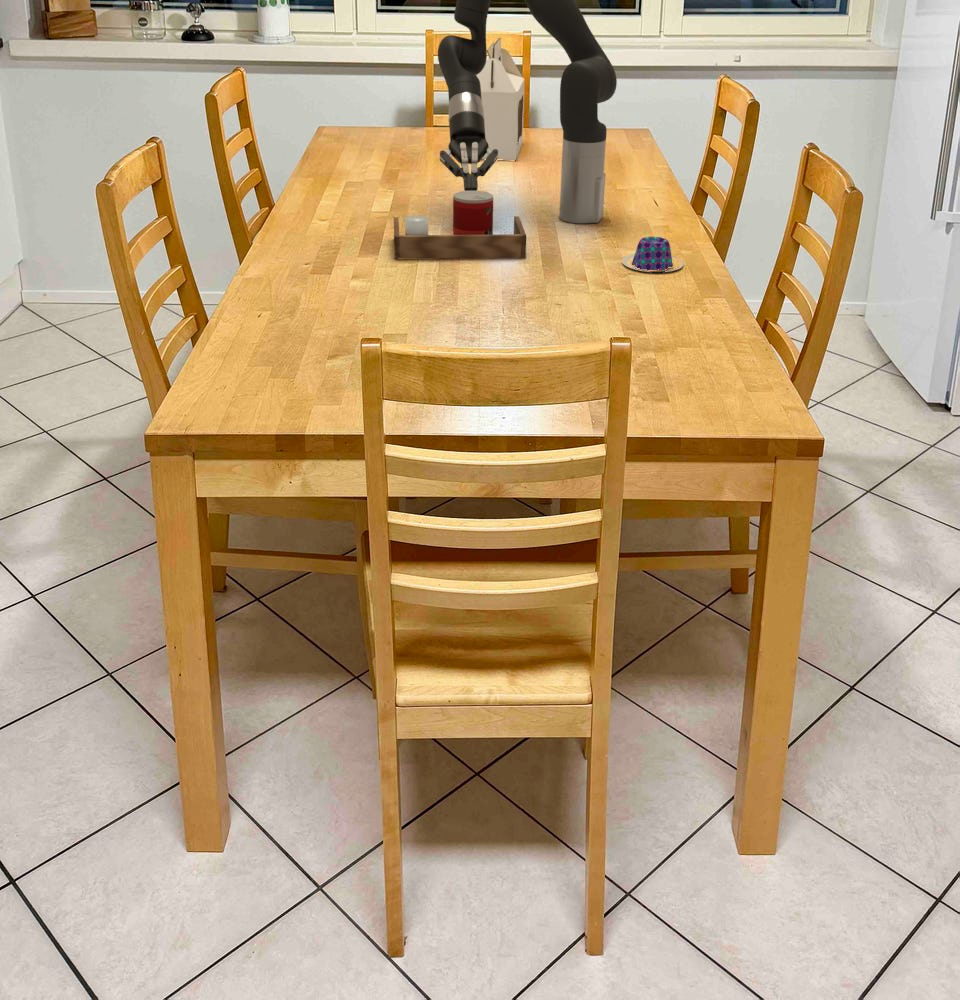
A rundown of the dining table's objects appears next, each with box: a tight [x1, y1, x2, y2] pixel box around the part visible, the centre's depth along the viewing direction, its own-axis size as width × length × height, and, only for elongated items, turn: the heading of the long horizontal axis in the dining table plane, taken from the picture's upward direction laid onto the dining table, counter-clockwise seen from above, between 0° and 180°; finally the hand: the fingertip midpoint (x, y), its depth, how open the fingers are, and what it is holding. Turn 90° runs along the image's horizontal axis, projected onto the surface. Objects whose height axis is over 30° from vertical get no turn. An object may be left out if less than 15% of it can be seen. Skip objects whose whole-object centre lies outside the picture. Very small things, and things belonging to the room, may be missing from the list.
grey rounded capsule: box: [404, 214, 429, 235], centre depth 229 cm, size 5×5×7 cm
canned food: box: [452, 190, 494, 235], centre depth 231 cm, size 8×8×11 cm
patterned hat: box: [621, 236, 684, 273], centre depth 225 cm, size 12×12×5 cm
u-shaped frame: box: [393, 215, 527, 259], centre depth 233 cm, size 26×14×4 cm, turn 94°
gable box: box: [476, 37, 526, 161], centre depth 304 cm, size 22×13×28 cm, turn 173°
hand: (471, 192), depth 240 cm, fingers closed
